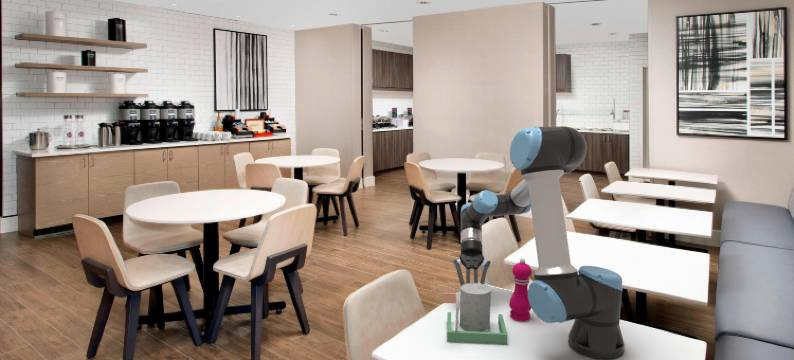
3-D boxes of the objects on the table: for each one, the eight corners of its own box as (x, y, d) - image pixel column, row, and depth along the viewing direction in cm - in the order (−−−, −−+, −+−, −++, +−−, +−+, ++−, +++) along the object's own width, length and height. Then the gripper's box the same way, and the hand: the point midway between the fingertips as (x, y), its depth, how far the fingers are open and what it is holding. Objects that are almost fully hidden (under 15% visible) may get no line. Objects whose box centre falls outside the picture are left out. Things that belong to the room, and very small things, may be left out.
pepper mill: (507, 312, 171) (510, 254, 168) (529, 313, 170) (532, 255, 167) (509, 321, 164) (511, 261, 161) (532, 322, 163) (535, 262, 160)
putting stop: (502, 323, 163) (503, 278, 161) (507, 344, 149) (509, 295, 147) (442, 320, 165) (443, 276, 162) (442, 341, 151) (443, 293, 149)
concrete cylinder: (489, 333, 156) (490, 295, 154) (458, 330, 158) (458, 292, 156) (490, 320, 165) (491, 284, 163) (460, 317, 167) (461, 281, 165)
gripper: (489, 249, 183) (491, 313, 169) (452, 248, 184) (452, 311, 171) (491, 239, 177) (493, 304, 163) (453, 238, 178) (452, 302, 164)
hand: (472, 307), depth 167 cm, fingers closed
